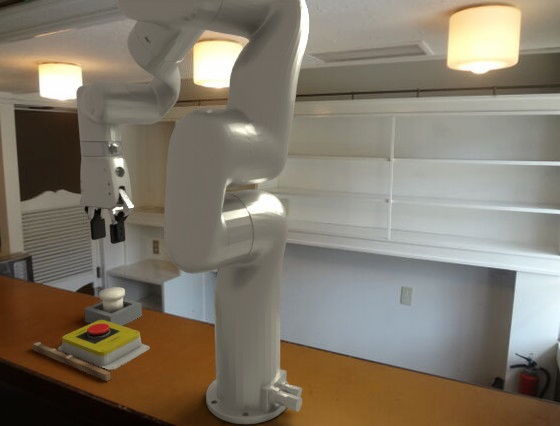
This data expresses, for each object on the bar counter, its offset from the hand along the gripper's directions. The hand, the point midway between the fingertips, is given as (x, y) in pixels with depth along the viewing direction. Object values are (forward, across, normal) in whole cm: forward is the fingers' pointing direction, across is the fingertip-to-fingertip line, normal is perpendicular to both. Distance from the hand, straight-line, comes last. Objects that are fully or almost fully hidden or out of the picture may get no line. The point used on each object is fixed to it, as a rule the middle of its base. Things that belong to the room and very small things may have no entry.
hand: (108, 239), depth 90 cm
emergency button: (+18, -8, +9) cm, 22 cm away
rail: (+17, -8, +16) cm, 25 cm away
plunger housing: (+17, 0, 0) cm, 17 cm away
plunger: (+15, 0, 0) cm, 15 cm away
